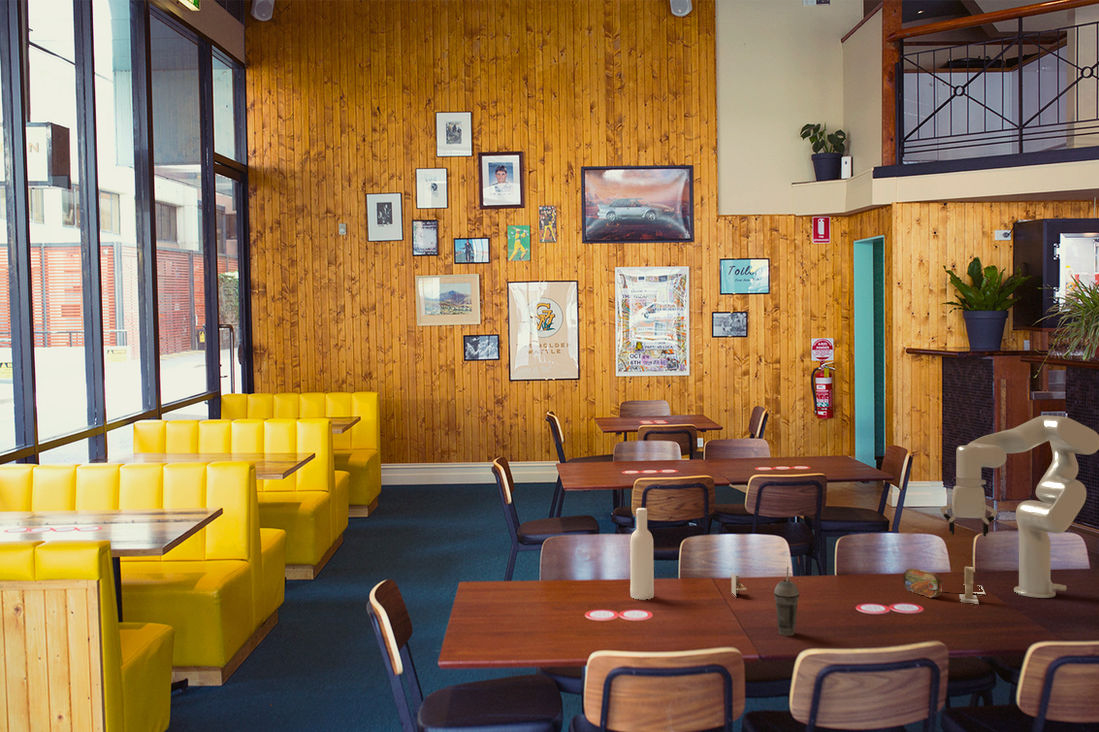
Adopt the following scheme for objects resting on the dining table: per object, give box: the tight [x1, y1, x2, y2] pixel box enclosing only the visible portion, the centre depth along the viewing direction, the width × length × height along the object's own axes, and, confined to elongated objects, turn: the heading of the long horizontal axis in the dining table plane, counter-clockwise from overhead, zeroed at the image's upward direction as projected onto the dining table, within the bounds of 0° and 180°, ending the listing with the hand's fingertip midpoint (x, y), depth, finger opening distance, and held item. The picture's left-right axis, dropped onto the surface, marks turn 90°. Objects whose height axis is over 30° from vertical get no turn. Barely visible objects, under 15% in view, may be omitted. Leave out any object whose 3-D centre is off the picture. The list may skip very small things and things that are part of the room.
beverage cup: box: [773, 566, 800, 637], centre depth 275 cm, size 7×7×20 cm
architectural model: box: [731, 573, 748, 597], centre depth 318 cm, size 3×7×7 cm, turn 3°
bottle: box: [629, 507, 655, 601], centre depth 317 cm, size 8×8×30 cm
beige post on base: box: [959, 566, 979, 605], centre depth 309 cm, size 5×8×11 cm, turn 161°
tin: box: [902, 568, 943, 599], centre depth 318 cm, size 15×3×8 cm, turn 25°
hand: (968, 534), depth 309 cm, fingers open, 9 cm apart
